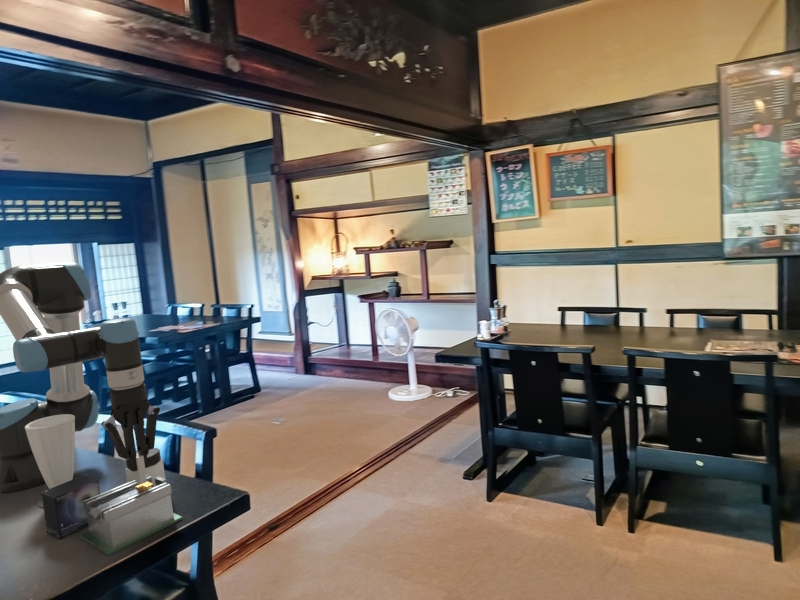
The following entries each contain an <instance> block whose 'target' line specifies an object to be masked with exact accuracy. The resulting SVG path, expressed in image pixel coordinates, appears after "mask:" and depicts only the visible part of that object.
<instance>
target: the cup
mask: <svg viewBox="0 0 800 600" xmlns="http://www.w3.org/2000/svg"><path fill="white" fill-rule="evenodd" d="M74 419H75V416H74V415H71V414H62V415H54V416H50V417H45V418H42V419H38V420H35V421H33V422H31V423H29V424H27V425H26V426H25V430H26V433H27V437H28V440H29V443H30V446H31V449H32V452H33V455H34V457H35V460H36V462H37V465H38V467H39V470H40V472H41V474H42V476H43V478H44V480H45V482H44V483H45V484H46V485H47V488H48V489H50V488H53V487H55V486H58V485H60V484H63V483H65V482H68V481H70V480H73V479H74V472H75V471H74V469H75V460H76V459H75V457H76V432H75V420H74ZM37 505H38V507H39V508H42V509H44V507H43V500H42V498H41V499H40V500H39V501H38V503H37Z"/></svg>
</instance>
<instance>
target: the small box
mask: <svg viewBox="0 0 800 600" xmlns="http://www.w3.org/2000/svg"><path fill="white" fill-rule="evenodd" d="M40 494H41V499H42V500H43V507H44V508H43V512H44V513H43V515H44V519H45V526H46V534H47V535H49V536H51V537H54V538H56V539H58V540H62V539H64V538H66V537H68V536H70V535H72V534H74V533H77V532H78V531H81V530H83V529H84V528H87V527H88V520H87V514H86V511H84V507H83V501H84V500H87V499H89V498H91V497H94V496H96V495H99V494H101V490H100V482H99V479H98V478H96V477H94V476H91V475H87V474H83V475H80V476H77V477H76V478H73V479H72V480H70V481H68V482H65V483H63V484H60V485H58V486H55V487H53V488H50V489H49V488H48V489H46V490H43V491H41V492H40Z"/></svg>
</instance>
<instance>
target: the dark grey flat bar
mask: <svg viewBox="0 0 800 600" xmlns="http://www.w3.org/2000/svg"><path fill="white" fill-rule="evenodd" d="M153 487H154V485H153V484H152V483H150V482H148V481H147V482H146V483H143V484H140V485H138V486H136V489H134V490H132V491H130V492H128V493H126V494H124V495H122V496H119V497H117V498H115V499H113V500H111V501H109V502H106V503H104V504H102V505H100V506H98V507H96V508H94V507H92V506H90V507H88V508H87V509H86V514H87V516H89V517H91V518H94V519H96V520H99V519H101V515H100V510H102V509H105V508H107V507H109V506H112V505H114V504H116V503H119V502H121V501H123V500H126V499H128V498H130V497H132V496H135V495H137V494H139V493H142V492H144V491H146V490H149V489H151V488H153Z"/></svg>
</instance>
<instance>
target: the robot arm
mask: <svg viewBox="0 0 800 600" xmlns="http://www.w3.org/2000/svg"><path fill="white" fill-rule="evenodd" d="M91 296H92V291H91V286H90V282H89V278H88V276H87V273H86V271H85V269H84V268H83V267H82V266H81V264H79V263H78V262H73V261H71V262H62V261H60V262H50V263H41V264H30V265H29V264H28V265H17V266H13V267H9V268H8V269H5V270H3V271H2V272H0V317H1V318H2V320H3V322H4V323H5V325H6V327H7V328H8V329H9V331H10V333H11V334H12V336H13V338H14V339H15V341H14V342H13V345H12V351H13V358H14V362H15V365H16V368H17V369H18V371H19V372H22V373H31V372H36V371H37V372H41V371H45V370H47V369H48V370H49V378H50V387H51V388H50V389H48V390H47V392H46V393H45V398H46V399H45V400H42V401H39V400H38V399H36V398H32V397H31V398H28V399H27V398H25V399H21V400H17V401H15V402H14V401H13V402H10V403H9V404H6V405H4V406H1V407H0V491H1V492H0V493H10V492H9V491H12V492H18V491H23V490H26V489H30V488H33V487H35V486H38V485H41V484H44V483H46V482H45V480H44V478H43V476H42V474H41V472H40V470H39V467H38V465H37V462H36V460H35V457H34V455H33V452H32V449H31V446H30V443H29V440H28V437H27V433H26V430H25V426H26V425H27V424H29V423H31V422H33V421H35V420H38V419H42V418H45V417H50V416H54V415H62V414H71V415H74V416H75V419H74V420H75V433H76V432H78V433H79V432H82V431H83V430H86V429H89V428H92V427H93V426H94V425H96V423H97V420H98V419H99V418H98V417H99V410H100V409H99V403H98V401H99V400H98V396H97V394H96V392H95V391H94V390H91V388H90V386H89V385H87V384H86V383H85V380H84V379H85V377H84V366H83V362H88V361H92V360H98V359H103V358H104V364H105V371H106V379H107V385H108V387H109V388H110V389H109V391H108V392H109V399H110V405H111V411H110V416H109V418H108V419H107V420H105V421H104V420H103V421H102V422H100V423H101V425H100V426H102V428H104V429H105V430H106V431H107V433H108V435H109V438H110V441H111V442H112V445H113V447H114V449H115V451H116V453H117V455H118V457H120V458H122V459H124V460H126V459H127V458H128V462H129V469H130V470H131V471H133V472H134V476H135V482H137V483H139V484H143V483H146V482H147V478H146V471H145V467H147V466H148V459H147V455H148V454H149V450H150V449H153V448H155V441H156V432H157V431H156V430H157V420H158V419H157V418H158V416H159V413H160V411H161V408H160V407H158V406H155V405H150V402H149V401H148V399H147V397H148V395H147V389H146V384H145V383H144V381H145V374H144V367H143V362H142V361H143V360H142V352H141V346H140V339H139V338H140V337H139V330H138V325H137V322H136V320H135V319H134V318H131V317H127V318H126V317H125V318H124V317H123V318H115V319H109V320H105V321H102V322H101V323H100V324H96V325H94V326H91V327H88V328H83V329H81V326H80V312H81V311H83V310H84V308H85V302H87V301H88V300H90V299H91ZM84 301H85V302H84ZM146 415H147V416H146ZM145 417H146V425H145ZM116 422H117V423H118V424H120V427H121V429H122V435H123V439H122V437H121V435H120V433H119V430H118V429H117V427H116V426H117V423H116ZM123 441H124V442H123ZM136 451H138V452H139V454H136Z"/></svg>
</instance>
